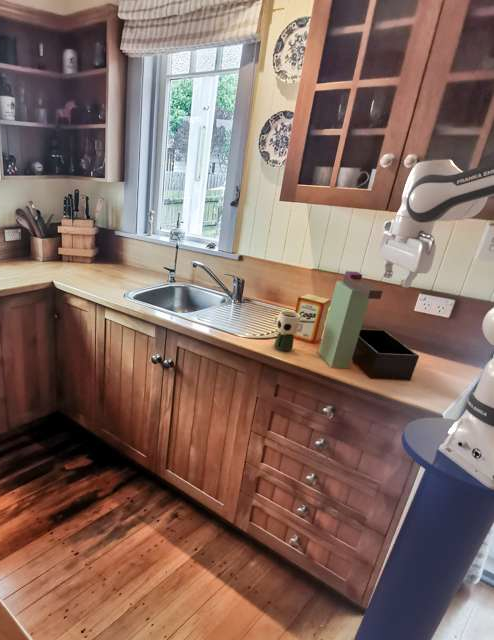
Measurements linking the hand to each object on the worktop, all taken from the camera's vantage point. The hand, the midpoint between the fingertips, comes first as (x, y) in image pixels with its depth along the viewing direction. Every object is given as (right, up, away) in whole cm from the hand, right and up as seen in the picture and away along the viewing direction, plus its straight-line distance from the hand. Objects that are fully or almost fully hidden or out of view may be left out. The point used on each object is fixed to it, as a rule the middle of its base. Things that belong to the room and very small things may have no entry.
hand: (395, 282), depth 124 cm
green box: (-1, -20, +34) cm, 40 cm away
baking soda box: (-3, -11, +52) cm, 54 cm away
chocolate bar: (0, +1, +18) cm, 18 cm away
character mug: (-16, -16, +42) cm, 47 cm away
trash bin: (+12, -21, +32) cm, 41 cm away
